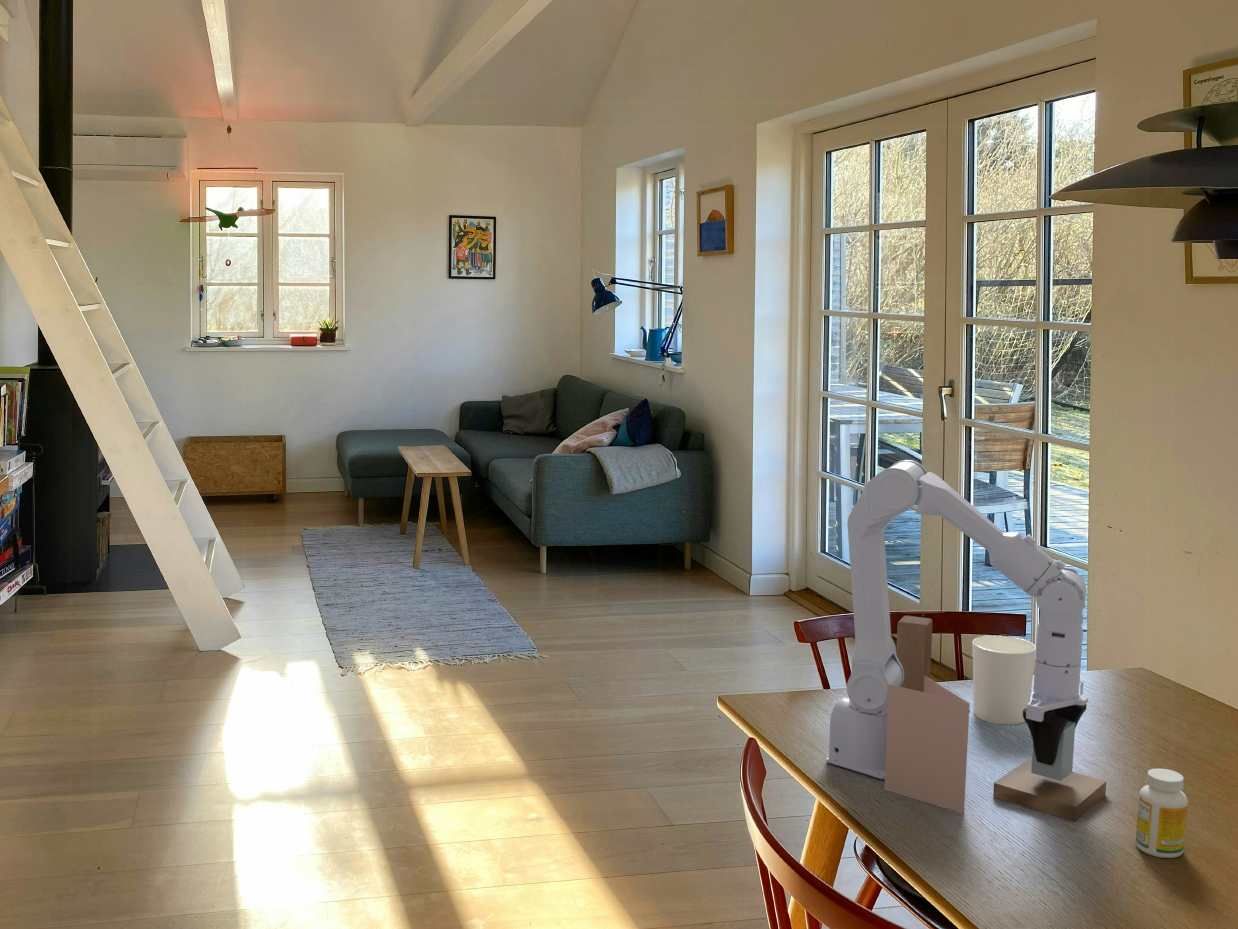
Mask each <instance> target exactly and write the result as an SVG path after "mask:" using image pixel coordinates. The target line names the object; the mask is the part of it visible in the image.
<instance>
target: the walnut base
mask: <svg viewBox="0 0 1238 929" xmlns="http://www.w3.org/2000/svg"><path fill="white" fill-rule="evenodd" d="M1031 768H1032V759H1031V760H1030V759H1026V760H1024V761H1023V762H1021V763H1020V764H1019V765H1017V766H1016V767H1014V768H1013V769H1011V770H1010V771H1009V772H1008V773H1006V774H1005V775H1003V776H1001V778H999V779H998V780H995V782H993V791H992V792H993V793H992V794H993V795H992V796H993V798H995V799H998V800H1002V801H1005V802H1008V803H1011V804H1015V805H1018V806H1022V807H1025V808H1028V809H1032V810H1034V811H1039V812H1042V813H1045V814H1049V815H1051V816H1055V817H1059V818H1062V819H1065V820H1068V821H1072V822H1076V821H1077V820H1079V819H1080V818H1081V817H1082V816H1083V815H1084V814H1085V813H1086V812H1088V811H1089V810H1090V809H1092V807H1094V806H1095V805H1096V804H1097V803H1098V802H1099V801H1101V800H1102V799H1103V798H1104V797H1105V796H1106V793H1107V792H1106V791H1107V781H1106V780H1103V779H1099V778H1096V777H1092V776H1089V775H1085V774H1081V773H1078V772H1074V771H1072V773H1070V774H1069V775H1068V776H1067V777H1065V778H1064V779H1063V780H1062V781H1059V780H1055V779H1051V778H1048V777H1044V776H1041V775H1037V774H1034V773H1031Z"/></svg>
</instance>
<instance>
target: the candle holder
mask: <svg viewBox="0 0 1238 929" xmlns="http://www.w3.org/2000/svg"><path fill="white" fill-rule="evenodd" d="M971 643H972V645H971V646H972V701H973V702H972V706H973V708H972V709H973V714H974V716H975V717H976V718H978V720H979V719H980V720H981V721H984V722H987V723H991V724H996V725H1001V726H1002V725H1004V726H1013V725H1020V723H1021V724H1023V723H1026V721H1025V720H1024V718H1023V710H1024V709H1025V708H1027V704H1028V703H1029V702H1030V698H1031V692H1032V688H1033V687H1032V685H1033V680H1034V671H1035V655H1036V644H1034V643H1033V642H1031V641H1028V640H1026V639H1024V638H1020V637H1015V636H1008V635H982V636H978V637H975V638H974V639H972V642H971Z"/></svg>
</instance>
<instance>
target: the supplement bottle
mask: <svg viewBox="0 0 1238 929" xmlns="http://www.w3.org/2000/svg"><path fill="white" fill-rule="evenodd" d="M1184 779H1185V778H1184V776H1183V775H1182V774H1181V773H1179V772H1177V771H1175V770H1171V769H1167V768H1151V769H1149V770H1148V771H1147V776H1146V783H1147V784H1146V785H1144V786H1143V787H1142V788H1141V789H1140V790H1139V796H1138V807H1137V808H1138V809H1137V820H1136V831H1135V844H1136V847H1137V848H1138V850H1140V851H1142V852H1143V853H1145V854H1147V855H1149V856H1153V857H1156V858H1164V859H1165V858H1166V859H1174V858H1178V857H1180V856H1182V855H1183V853H1184V847H1185V839H1186V838H1185V837H1186V825H1187V817H1188V816H1187V814H1188V804H1189V803H1188V802H1189V800H1188V797H1187V795H1186V794H1185V793H1184V792H1183V788H1184Z"/></svg>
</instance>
